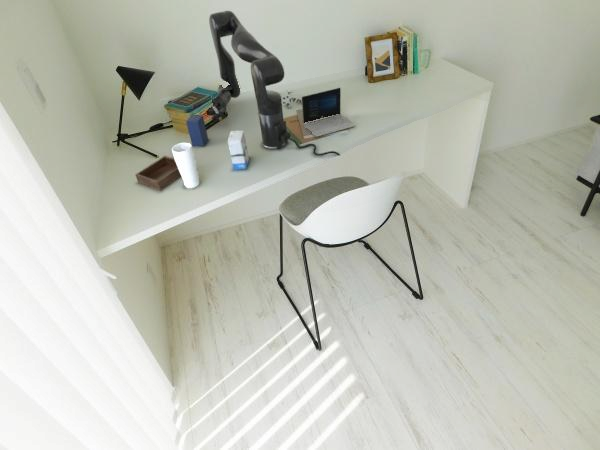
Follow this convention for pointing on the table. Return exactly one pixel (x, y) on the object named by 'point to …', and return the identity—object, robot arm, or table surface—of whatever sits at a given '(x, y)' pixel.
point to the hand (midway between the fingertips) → (203, 119)
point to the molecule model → (290, 99)
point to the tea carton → (197, 130)
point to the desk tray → (159, 173)
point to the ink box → (238, 149)
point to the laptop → (323, 112)
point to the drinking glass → (186, 164)
